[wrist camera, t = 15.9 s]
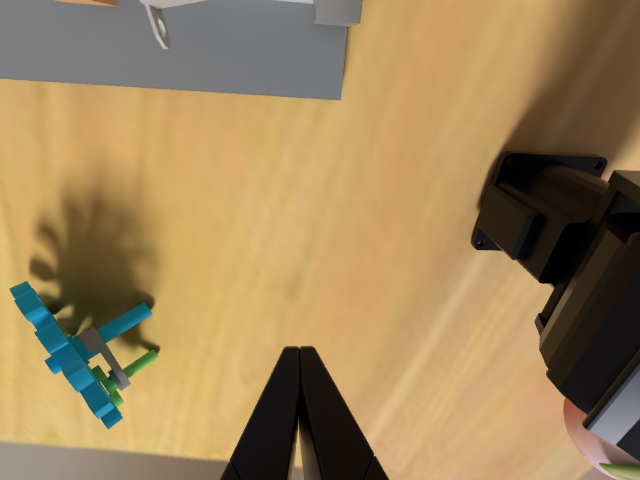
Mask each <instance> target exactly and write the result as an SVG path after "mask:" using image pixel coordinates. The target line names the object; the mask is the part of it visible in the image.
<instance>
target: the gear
mask: <svg viewBox="0 0 640 480" xmlns="http://www.w3.org/2000/svg"><path fill="white" fill-rule="evenodd" d="M10 291H11V293H12V295H13V296H14V298H15V299H16V300H14V301H15V303H16V304H17V306H18V308H19V309H20V311H21V312H22V314H23V315H24V316H25V318H26V319H27V320H28V321H29V322H30V321H31V322H32V324H33V325H34V326H35V328H36V329H37V331H36V332H34V333H35V335H36V336H37V337H38V339H39V340H40V342H41V343H42V344H43V346H44V347H45V349H46V350H47V351H48V353H49V354H51V357H49V358H48V359H46V360H45V362H46V364H47V366H48V367H49V368H50V370H51V371H52V372H53V373H54V374H57V373H58V372H60V371H62V372H63V374H64V376H65V377H66V379H67V380H68V381H69V383H70V384H71V385H72V386H73V388H74V389H75V390H76V391H77V392H79V391H80V393H81V395H82V396H83V398H84V399H85V401H86V403H87V405H88V406H89V408H90V409H91V411H92V412H93V414H94V415H95V416H96V417H97V418H98V419H100V418H101V420H102V421H103V423H104V424H105V426H106V427H107V428H108V429H109V428H111V427H112V426H113V425H115V424H116V423H117V422H119V421H120V420H121V419H122V418H123V417H122V416H121V413H120V412H119V410H118V408H117V407H118V406H119V405H121V404H122V403H123V402H124V401H123V399H122V398H121V397H120V395H119V394H118V392H117V391H116V389H117V388H118V387H119V389H120V390H121V391H122V390H123V389H124V388H126V387H127V386H129V385H130V384H131V383H130V382H129V380H128V378H129V377H131V376H132V375H133V374H135V373H136V372H138V371H139V370H140V369H142V368H143V367H145V366H146V365H148V364H149V363H150V362H152V361H153V360H155V359H156V358H157V357H158V355H157V353H156V352H155V350H154V349H152V350H151V351H149V352H148V353H146V354H145V355H143V356H142V357H140V358H139V359H138V360H136V361H135V362H133V363H132V364H130V365H129V366H127V367H126V368H124V369H123V370H122V369H121V367H120V366H119V364H118V362H117V361H116V359H115V358H114V356H113V354H112V353H111V351H110V350H109V348H108V346H107V345H106V343H107V342H108V341H110V340H112V339H113V338H115V337H117V336H118V335H120V334H121V333H123V332H125V331H126V330H128V329H130V328H131V327H133V326H134V325H136V324H138V323H139V322H141V321H142V320H144V319H146V318H147V317H149V316H151V315H152V313H151V311H150V309H149V308H148V306H147V305H146V304H145V303H142V304H140V305H138V306H137V307H135V308H133V309H132V310H130V311H128V312H126V313H125V314H123V315H121V316H120V317H118V318H116V319H114V320H113V321H111V322H109V323H108V324H106V325H104V326H102V327H101V328H99V329H97V330H96V329H95V328H94V327H91V328H89V329H88V330H86V331H84V332H82V333H81V334H79V335H77V336H75V337H74V338H72V337H71V336H69V337H68V336H67V334H66V333H65V332H64V330H62V328H61V327H60V325H59V324H58V322H57V321H56V319H55V318H54V316H53V315H52V313H51V312H50V311H49V309H48V308H47V307H46V305H44V303H43V302H42V300H41V299H40V297H39V296H38V295H37V293H36V292H35V290H34V289H33V288H31V286H30V285H29V283H28V282H27V281H26V282H24V283H21V284H19V285H17V286H15V287H12V288H10ZM100 352H101V354H102V355H103V357H104V358H105V360H106V361H107V363H108V364H109V366H110V367H111V369H112V370H110V371H109V372H108V373H109V375H110V376H109V377H108V378H107V377H106V375H105V374H104V372H103V371H102V369H101V368H100V367H99V365H98V366H96V367H95V368H93V369H91V368H90V367H89V366H88V364H89V363H90V362H89V361H88V360H89V359H90V358H92V357H94V356H95V355H97V354H98V353H100ZM100 381H101V382H102V384H103V385H104V387H105V388H106V390H107V391H108V392H109V395H108V393H107V392H106V390H105V389H104V387H103V386H102V385H101V383H100Z"/></svg>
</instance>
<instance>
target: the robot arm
mask: <svg viewBox="0 0 640 480" xmlns="http://www.w3.org/2000/svg"><path fill="white" fill-rule="evenodd" d="M511 157H512V158H511ZM509 158H511V161H510V162H509V163H507V160H508V159H509ZM596 163H597V165H596V166H595V164H596ZM606 165H607V160H606V158H603V157H601V156H597V155H579V154H559V153H540V152H521V151H507V152H505V153H503V154H502V155H501V156H500V158H499V161H498V164H497V167H496V170H495V173H494V175H493V178H492V181H491V184H490V187H489V188H488V190H487V192H486V195H485V198H484V201H483V204H482V207H481V210H480V213H479V216H478V219H477V222H476V224H477V225H476V228H475V231H474V234H473V237H472V240H471V244H472V246H473V247H474V248H475V249H476V250H497V251H504V252H505V253H506V254H507V255H508V256H509V257H510V258H511V259H512V260H516V261H517V262H518V263H520V264H521V265H522V266H523V267H524V268H525V269H526V270H527V271H528V272H529V273H530V274H531V275H532V276H533V277H534V278H535V279H536V280H537V281H538V282H539V283H542V284H549V285H550V286H551V287H553V288H554V290H553V292H552V294H551V296H550V298H549V299H548V301H547V303H546V305H545V307H544V309H543V311H542V313H539V314H538V315H537V317H536V319H535V325H536V327H537V330H538V332H539V335H540V345H539V350H540V352H541V354H542V357H543V359H544V361H545V364H546V366H547V367H548V370H547V371H546V375H547V377H548V378H549V379H550V381H551V382H552V383H553V384H554V385H555V387H556V388H557V389H558V390H559V391H560V393H561V394H562V395H563V396H565V397H566V398H567V399H568V400H569V401H570V402H571V403H572V404H573V405H574V406H575V407H577V408H578V409H579V410H581V411H582V412H583V413H585V414H586V415H587V416H586V418H585V419H584V420H583V422H582V425H583V427H584V428H585V429H586V430H588V431H590V432H592V433H593V434H595V435H597V436H599V437H601V438H603V439H605V440H607V441H609V442H611V443H612V444H614V445H616V446H617V447H619V448H620V449H622V450H623V451H625V452H626V453H628V454H629V455H630V456H632V457H633V458H635V459H636V460H638V461H639V462H640V171H626V170H614V171H613V173H612V175H611V177H610V179H609V181H608V182H607V181H605V180H603V179H600V177H601V175H602V173H603V172H604V170H605V168H606ZM594 166H595V167H594ZM481 240H482V242H481V243H479V244H478V242H479V241H481ZM298 425H299V438H300V447H301V455H302V464H303V472H304V480H389V478H388V477H387V475H386V473H385V472H384V470H383V468H382V466H381V465H380V463H379V461H378V459H377V457H376V456H374V452H373V451H372V449H371V447H370V445H369V443H368V442H367V440H366V438H365V436H364V435H363V433H362V431H361V429H360V427H359V426H358V424H357V422H356V420H355V418H354V417H353V415H352V413H351V411H350V410H349V408H348V406H347V404H346V402H345V401H344V399H343V397H342V395H341V394H340V392H339V390H338V388H337V386H336V385H335V383H334V381H333V379H332V378H331V376H330V374H329V372H328V370H327V369H326V367H325V365H324V363H323V361H322V360H321V358H320V356H319V354H318V353H317V351H316V349H315V348H314V347H313V346H301V347H300V348H299V347H297V346H286V347H284V349H283V351H282V353H281V355H280V357H279V359H278V361H277V363H276V365H275V367H274V369H273V371H272V373H271V375H270V378H269V380H268V382H267V384H266V386H265V388H264V390H263V392H262V394H261V396H260V398H259V400H258V402H257V404H256V406H255V409H254V411H253V413H252V415H251V417H250V419H249V421H248V423H247V425H246V427H245V429H244V431H243V433H242V435H241V437H240V440H239V442H238V444H237V446H236V448H235V450H234V452H233V454H232V456H231V458H230V462H229V463H228V464H227V466H226V468H225V470H224V472H223V475H222V476H221V479H220V480H292V479H293V470H294V461H295V452H296V443H297V433H298Z"/></svg>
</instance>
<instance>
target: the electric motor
mask: <svg viewBox="0 0 640 480" xmlns="http://www.w3.org/2000/svg"><path fill="white" fill-rule="evenodd" d="M200 1H206V0H140V2H141V3H142V4H144V5H145V7H146V10H147V13H148V16H149V19H150V22H151V25H152V28H153V31H154V34H155V37H156V38H157V40H158V41H159V43H160V44H161V46H162V47H163V49H169V48H170V47H171V43H170V35H169V32H168V29H167V25H166V22H165V18H164V15H163V12H162V8H167V7H173V6H178V5H184V4H189V3H195V2H200ZM158 22H159V25H160V27H161V29H162V32H163V36H162V34H161V32H160V29H159V27H158ZM163 37H164V38H163Z"/></svg>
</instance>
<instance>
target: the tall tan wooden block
mask: <svg viewBox="0 0 640 480" xmlns="http://www.w3.org/2000/svg"><path fill="white" fill-rule="evenodd" d="M56 1H61V2H68V3H80V4H91V5H103V6H115V7H119V6H118V1H117V0H56Z"/></svg>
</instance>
